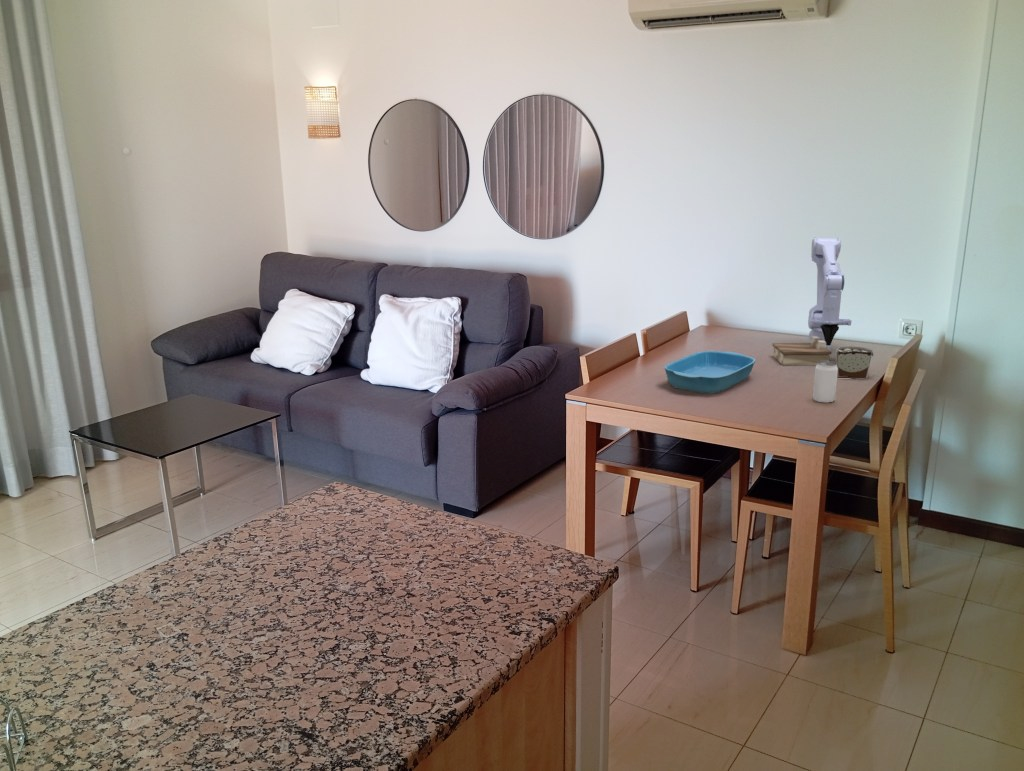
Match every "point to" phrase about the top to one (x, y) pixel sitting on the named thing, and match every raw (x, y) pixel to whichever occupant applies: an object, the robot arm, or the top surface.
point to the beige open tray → (799, 358)
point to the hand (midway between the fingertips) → (827, 344)
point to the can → (825, 381)
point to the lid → (803, 347)
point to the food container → (853, 361)
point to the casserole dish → (709, 371)
